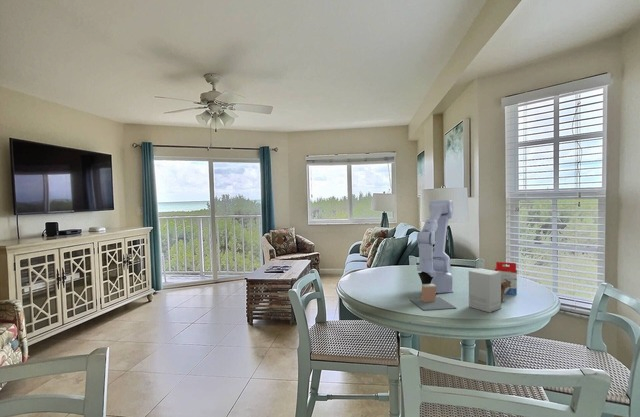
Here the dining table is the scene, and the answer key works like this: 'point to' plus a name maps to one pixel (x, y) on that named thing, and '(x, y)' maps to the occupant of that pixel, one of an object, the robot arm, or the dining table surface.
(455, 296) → the dining table surface
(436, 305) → the mat
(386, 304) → the dining table surface
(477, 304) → the supplement box
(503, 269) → the ink box
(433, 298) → the slab
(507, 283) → the dinosaur figurine
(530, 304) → the dining table surface
